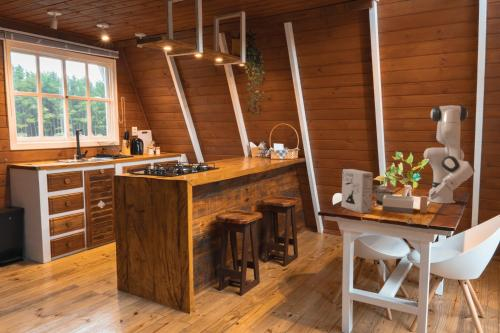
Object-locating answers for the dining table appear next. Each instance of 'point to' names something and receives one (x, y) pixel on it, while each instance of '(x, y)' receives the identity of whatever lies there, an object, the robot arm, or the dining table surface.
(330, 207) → the dining table surface
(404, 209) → the socket box
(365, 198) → the cereal box
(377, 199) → the food container
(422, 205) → the peg
